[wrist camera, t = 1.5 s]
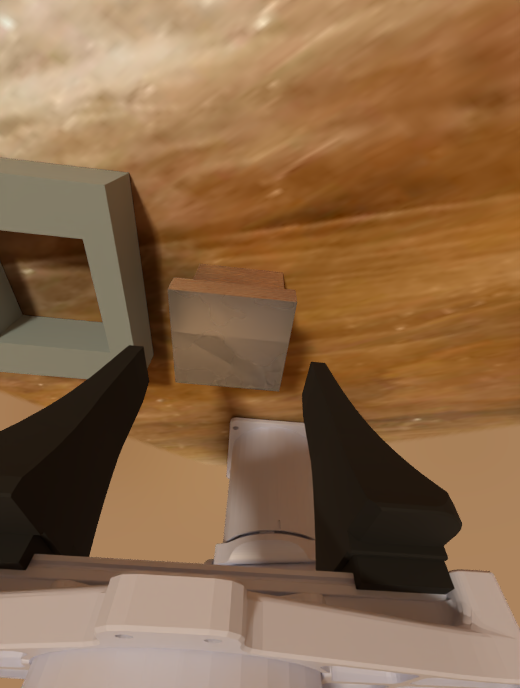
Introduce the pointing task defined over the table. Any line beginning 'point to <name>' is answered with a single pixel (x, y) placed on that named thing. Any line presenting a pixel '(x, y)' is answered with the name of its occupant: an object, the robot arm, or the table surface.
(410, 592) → the robot arm
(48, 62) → the table surface
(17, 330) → the well block
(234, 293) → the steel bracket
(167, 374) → the table surface
